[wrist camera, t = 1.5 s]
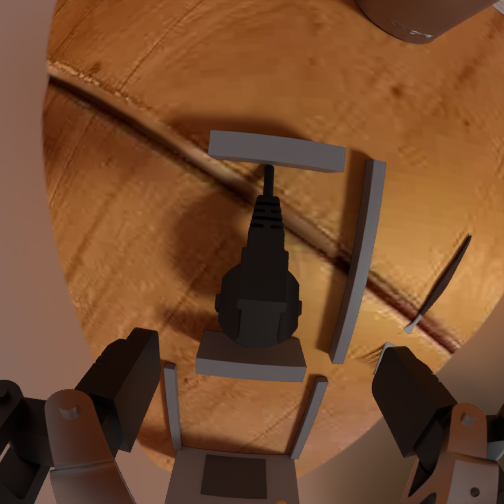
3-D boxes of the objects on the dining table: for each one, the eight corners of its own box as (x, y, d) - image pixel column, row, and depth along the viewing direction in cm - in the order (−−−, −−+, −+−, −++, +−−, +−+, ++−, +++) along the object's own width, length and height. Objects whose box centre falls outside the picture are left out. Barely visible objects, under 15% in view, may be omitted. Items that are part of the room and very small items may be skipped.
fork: (473, 241, 21) (486, 246, 19) (381, 370, 25) (388, 382, 23) (461, 226, 21) (474, 230, 19) (365, 362, 24) (372, 374, 22)
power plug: (311, 165, 19) (311, 349, 14) (292, 215, 26) (287, 351, 21) (229, 157, 19) (205, 342, 14) (230, 210, 26) (216, 346, 21)
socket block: (165, 362, 24) (135, 434, 15) (326, 377, 24) (350, 449, 15) (176, 460, 28) (164, 513, 20) (290, 469, 29) (296, 523, 20)
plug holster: (218, 139, 19) (210, 130, 15) (377, 163, 19) (402, 161, 15) (203, 344, 23) (195, 373, 19) (338, 354, 23) (350, 381, 20)
